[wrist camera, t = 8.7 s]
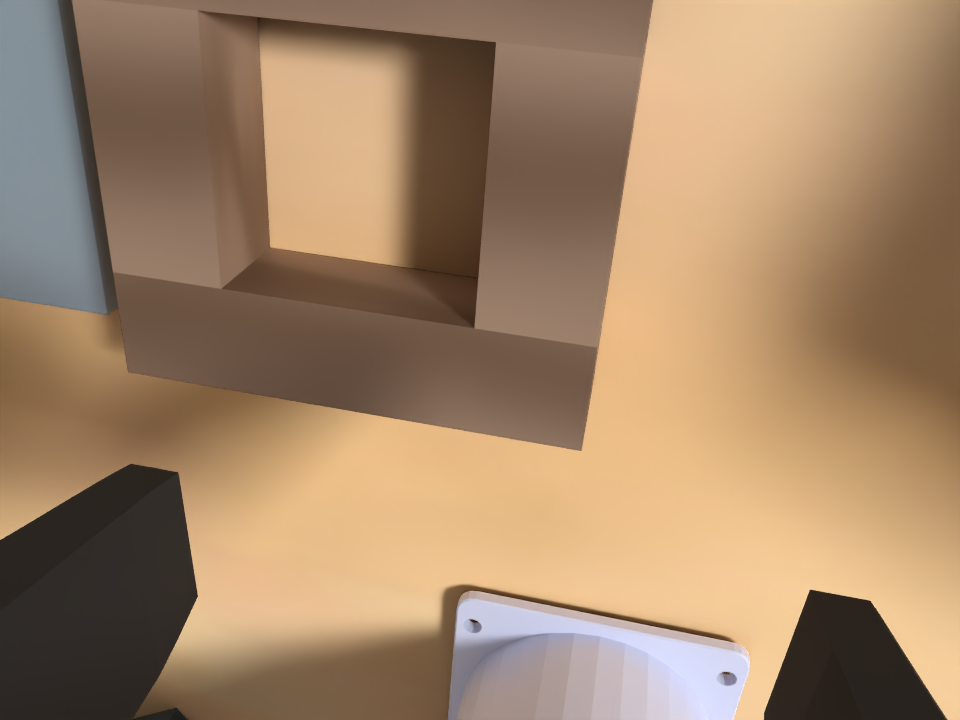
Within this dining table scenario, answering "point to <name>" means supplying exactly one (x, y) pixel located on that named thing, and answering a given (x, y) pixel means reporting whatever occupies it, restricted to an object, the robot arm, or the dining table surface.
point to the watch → (164, 716)
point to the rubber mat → (49, 165)
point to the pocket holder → (349, 283)
